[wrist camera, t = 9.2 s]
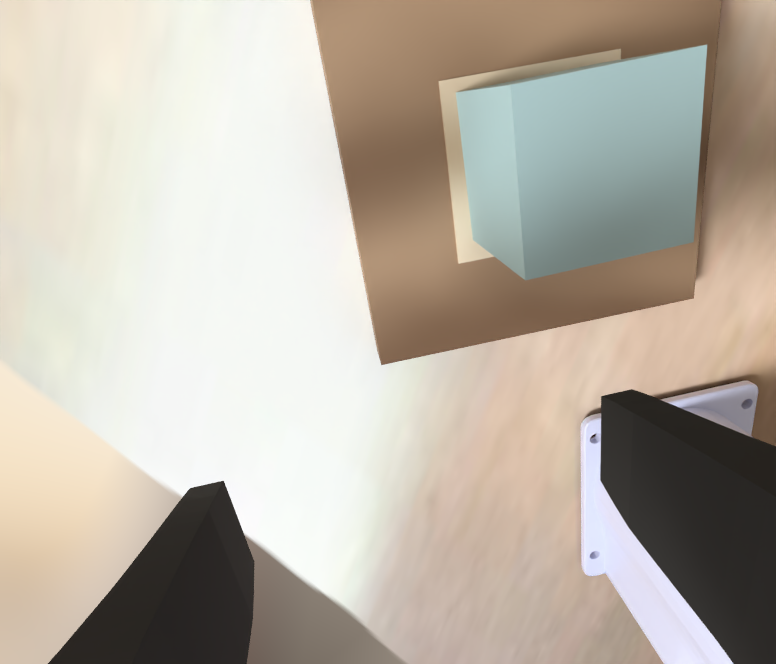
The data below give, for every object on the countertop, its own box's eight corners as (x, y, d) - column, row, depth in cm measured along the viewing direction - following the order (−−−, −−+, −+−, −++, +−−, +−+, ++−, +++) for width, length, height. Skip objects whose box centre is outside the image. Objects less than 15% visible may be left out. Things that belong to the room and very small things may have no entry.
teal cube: (601, 211, 17) (693, 242, 13) (472, 240, 17) (525, 280, 13) (600, 62, 15) (707, 44, 11) (455, 92, 15) (510, 85, 11)
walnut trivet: (672, 288, 20) (695, 299, 19) (377, 350, 19) (381, 365, 18) (700, -85, 15) (733, -102, 14) (306, -21, 14) (306, -33, 13)
